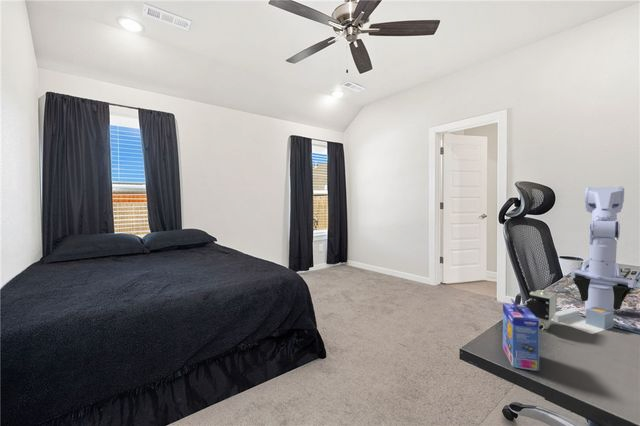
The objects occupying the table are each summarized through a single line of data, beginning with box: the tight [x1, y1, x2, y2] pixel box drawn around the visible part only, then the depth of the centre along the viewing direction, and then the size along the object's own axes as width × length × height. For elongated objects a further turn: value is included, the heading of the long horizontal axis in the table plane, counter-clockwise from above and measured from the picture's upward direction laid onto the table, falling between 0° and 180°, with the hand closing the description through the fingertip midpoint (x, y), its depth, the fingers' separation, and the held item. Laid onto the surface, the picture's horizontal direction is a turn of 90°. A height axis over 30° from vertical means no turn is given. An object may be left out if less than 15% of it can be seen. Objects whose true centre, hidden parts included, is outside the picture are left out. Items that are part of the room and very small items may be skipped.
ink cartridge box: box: [502, 298, 540, 372], centre depth 72 cm, size 10×6×14 cm, turn 161°
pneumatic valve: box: [526, 288, 558, 331], centre depth 88 cm, size 6×12×12 cm, turn 130°
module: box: [585, 307, 615, 330], centre depth 89 cm, size 5×4×5 cm
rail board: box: [550, 307, 615, 335], centre depth 90 cm, size 12×11×3 cm
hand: (600, 304), depth 88 cm, fingers open, 7 cm apart
